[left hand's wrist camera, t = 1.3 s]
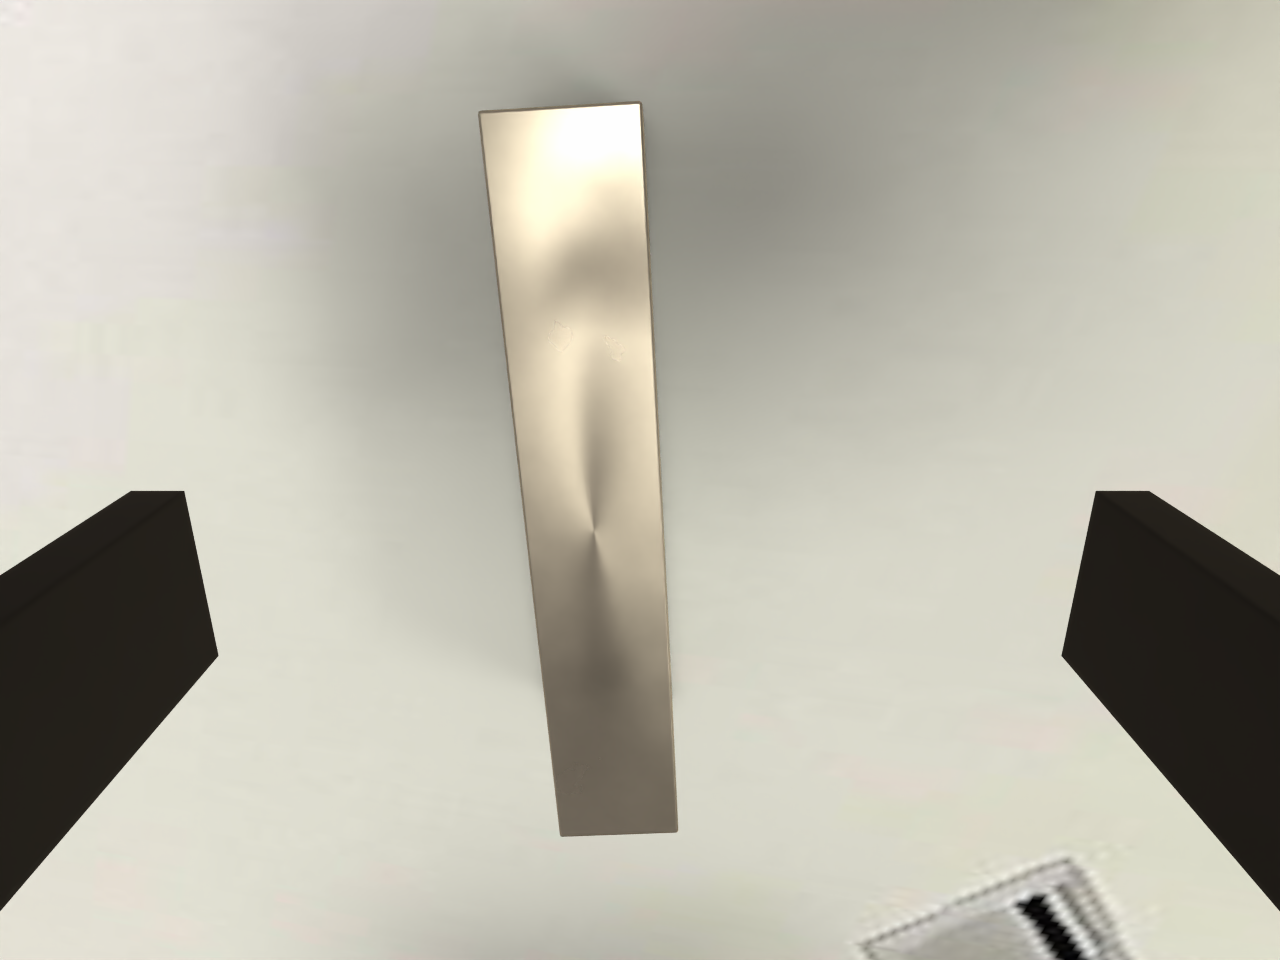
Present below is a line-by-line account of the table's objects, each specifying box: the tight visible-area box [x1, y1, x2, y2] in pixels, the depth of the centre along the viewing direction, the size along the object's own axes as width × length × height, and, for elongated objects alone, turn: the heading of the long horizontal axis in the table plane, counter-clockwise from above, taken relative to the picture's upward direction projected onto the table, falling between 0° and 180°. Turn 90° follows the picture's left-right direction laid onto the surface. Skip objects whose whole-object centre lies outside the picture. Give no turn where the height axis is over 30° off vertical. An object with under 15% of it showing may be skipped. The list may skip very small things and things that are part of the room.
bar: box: [478, 101, 678, 837], centre depth 31 cm, size 25×4×8 cm, turn 3°
